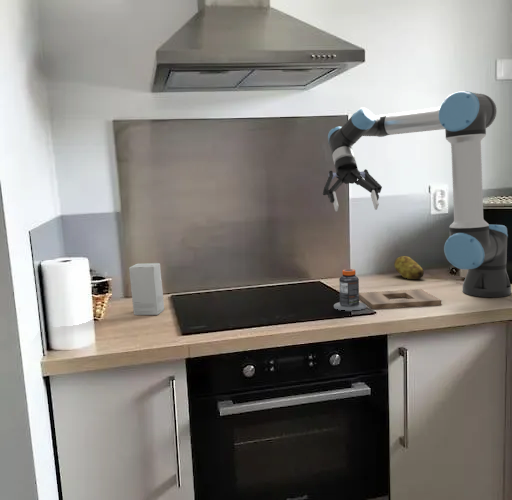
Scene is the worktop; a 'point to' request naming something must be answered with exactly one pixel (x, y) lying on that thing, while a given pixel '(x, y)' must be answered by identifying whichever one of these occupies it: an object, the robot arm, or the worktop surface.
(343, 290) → the pill bottle
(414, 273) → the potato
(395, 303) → the pocket board
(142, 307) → the skincare box
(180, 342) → the worktop surface
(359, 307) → the coaster
